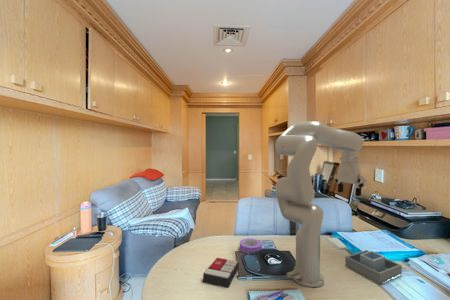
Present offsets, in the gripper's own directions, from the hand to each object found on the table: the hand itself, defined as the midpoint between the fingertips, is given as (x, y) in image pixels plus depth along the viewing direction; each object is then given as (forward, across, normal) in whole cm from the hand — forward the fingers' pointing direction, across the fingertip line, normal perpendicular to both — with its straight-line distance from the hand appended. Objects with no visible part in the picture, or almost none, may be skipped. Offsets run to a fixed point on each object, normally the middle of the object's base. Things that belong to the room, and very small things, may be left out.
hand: (349, 193), depth 115 cm
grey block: (+30, +16, -6) cm, 34 cm away
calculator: (+31, -10, -67) cm, 75 cm away
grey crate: (+30, +16, -6) cm, 35 cm away
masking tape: (+31, -24, -44) cm, 59 cm away
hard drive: (+31, -8, +4) cm, 32 cm away
